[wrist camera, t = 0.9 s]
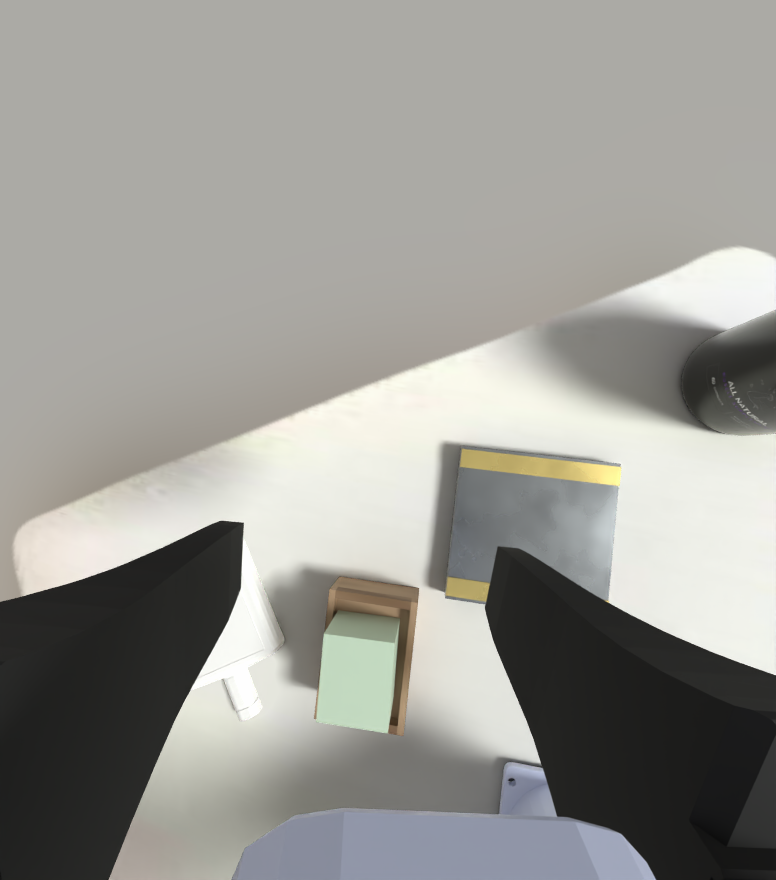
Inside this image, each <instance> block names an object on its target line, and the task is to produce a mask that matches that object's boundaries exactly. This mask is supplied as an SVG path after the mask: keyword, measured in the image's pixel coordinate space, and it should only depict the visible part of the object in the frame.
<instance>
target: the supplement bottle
mask: <svg viewBox="0 0 776 880" xmlns="http://www.w3.org/2000/svg"><path fill="white" fill-rule="evenodd" d="M682 392H683V396H684V399H685V402H686V404H687V406H688V408H689V409H690V411H691V412H692V413H693V415H694V416H695V417H696V418H697V419H698V420H699V421H701V422H702V423H703V424H705V425H706V426H708V427H709V428H711V429H713V430H716V431H718V432H722V433H725V434H730V435H763V434H776V310H774V311H772V312H769V313H767V314H764V315H762V316H760V317H757V318H755V319H753V320H750V321H748V322H745V323H743V324H741V325H738V326H736V327H734V328H731V329H729V330H726V331H724V332H722V333H720V334H718V335H715V336H713V337H711V338H710V339H708V340H706V341H705V342H703V343H702V344H701V345H700V346H698V347H697V348H696V349H695V351H694V352H693V353H692V354H691V356H690V357H689V359H688V360H687V362H686V365H685V367H684V370H683V374H682Z"/></svg>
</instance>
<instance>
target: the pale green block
mask: <svg viewBox="0 0 776 880" xmlns="http://www.w3.org/2000/svg"><path fill="white" fill-rule="evenodd" d="M399 622H400V618H395V617H387V616H380V615H372V614H364V613H356V612H348V611H340V610H338V611H337V613H336V615H335V616H334V618H333V620H332V621H331V623H330V624H329V626H328V628H327V629H326V631H325V632H324V636H323V647H322V659H321V670H320V682H319V694H318V705H317V717H316V722H318V723H325V724H331V725H337V726H343V727H350V728H356V729H362V730H368V731H375V732H381V733H387V734H388V729H389V723H390V716H391V710H392V704H393V697H394V686H395V673H396V661H397V648H398V635H399Z"/></svg>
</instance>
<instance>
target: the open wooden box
mask: <svg viewBox="0 0 776 880" xmlns="http://www.w3.org/2000/svg"><path fill="white" fill-rule="evenodd" d="M418 595H419V588H414V587H408V586H401V585H394V584H388V583H381V582H374V581H368V580H361V579H354V578H347V577H341V576H340V577H339V578H338V579H337V580H336V582H335V583H334V584H333V585H332V587H331V588H330V589H329V598H328V606H327V614H326V623H325V631H326V629H327V628H328V626H329V624H330V623H331V621H332V620H333V618H334V616H335V615H336V613H337V611H338V610H340V611H348V612H356V613H364V614H372V615H380V616H387V617H395V618H400V622H399V635H398V648H397V661H396V673H395V686H394V697H393V704H392V710H391V716H390V723H389V729H388V733H390V734H395V735H400V736H403V734H404V725H405V715H406V706H407V697H408V688H409V679H410V670H411V661H412V652H413V643H414V633H415V624H416V615H417V606H418ZM325 631H324V632H325ZM321 659H322V656H321ZM320 670H321V665H320ZM319 682H320V673H319V681H318V690H317V698H316V706H315V715H314V719H316V717H317V705H318V694H319Z"/></svg>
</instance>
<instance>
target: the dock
mask: <svg viewBox="0 0 776 880" xmlns="http://www.w3.org/2000/svg"><path fill="white" fill-rule="evenodd" d="M620 475H621V464H617V463H608V462H599V461H590V460H582V459H573V458H564V457H556V456H547V455H538V454H529V453H521V452H512V451H503V450H494V449H486V448H477V447H468V446H461V449H460V458H459V467H458V476H457V485H456V494H455V503H454V512H453V521H452V530H451V539H450V548H449V557H448V566H447V575H446V584H445V598H447V599H454V600H460V601H467V602H473V603H479V604H486V600H487V595H488V590H489V586H490V581H491V576H492V571H493V566H494V561H495V556H496V552H497V547H498V546H501V547H511V548H519V549H521V550H523V551H525V552H527V553H529V554H531V555H532V556H534V557H536V558H537V559H539V560H540V561H542V562H544V563H545V564H547V565H548V566H550V567H551V568H553V569H554V570H556V571H558V572H559V573H561V574H562V575H564V576H565V577H567V578H568V579H570V580H572V581H573V582H575V583H576V584H578V585H580V586H581V587H583V588H584V589H586V590H588V591H589V592H591V593H593V594H594V595H596V596H598V597H599V598H601V599H603V600H605V601H606V602H608V603H609V601H608V596H609V586H610V575H611V564H612V553H613V542H614V532H615V521H616V510H617V499H618V489H619V486H620Z"/></svg>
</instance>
